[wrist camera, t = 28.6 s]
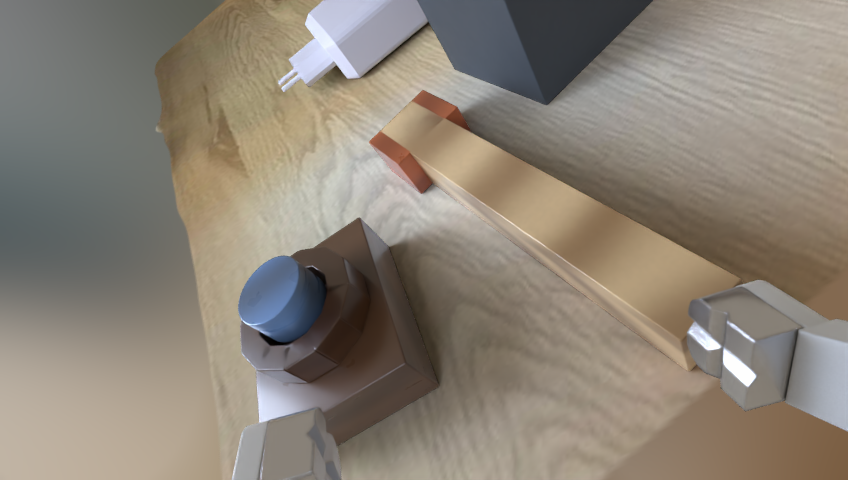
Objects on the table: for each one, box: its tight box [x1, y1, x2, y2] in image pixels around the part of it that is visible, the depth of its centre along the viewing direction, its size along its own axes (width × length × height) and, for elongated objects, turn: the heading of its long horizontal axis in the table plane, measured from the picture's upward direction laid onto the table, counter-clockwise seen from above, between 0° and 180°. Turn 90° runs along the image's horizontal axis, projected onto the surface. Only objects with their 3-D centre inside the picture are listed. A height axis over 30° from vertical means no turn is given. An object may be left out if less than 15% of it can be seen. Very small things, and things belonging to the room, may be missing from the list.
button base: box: [240, 218, 439, 446], centre depth 25 cm, size 10×8×5 cm
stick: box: [369, 90, 742, 371], centre depth 25 cm, size 22×5×3 cm, turn 35°
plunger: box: [238, 256, 327, 343], centre depth 23 cm, size 4×4×2 cm
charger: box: [278, 0, 429, 92], centre depth 44 cm, size 5×9×15 cm
